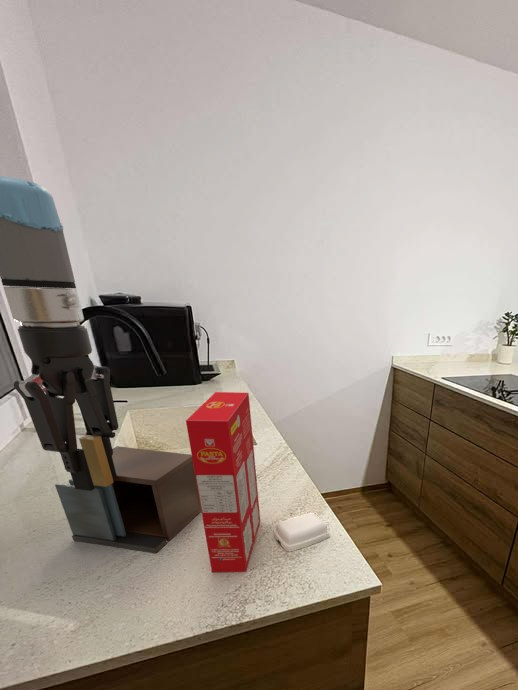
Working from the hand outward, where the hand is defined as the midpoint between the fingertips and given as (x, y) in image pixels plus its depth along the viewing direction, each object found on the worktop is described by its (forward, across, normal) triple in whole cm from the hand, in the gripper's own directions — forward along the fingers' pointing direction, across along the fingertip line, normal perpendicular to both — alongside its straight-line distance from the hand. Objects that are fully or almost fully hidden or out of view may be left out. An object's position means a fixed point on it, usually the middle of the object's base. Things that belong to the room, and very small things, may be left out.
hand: (96, 482), depth 61 cm
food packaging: (+12, +5, -20) cm, 24 cm away
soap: (+12, +10, -30) cm, 34 cm away
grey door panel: (+11, +1, +2) cm, 11 cm away
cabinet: (+12, +7, 0) cm, 14 cm away
